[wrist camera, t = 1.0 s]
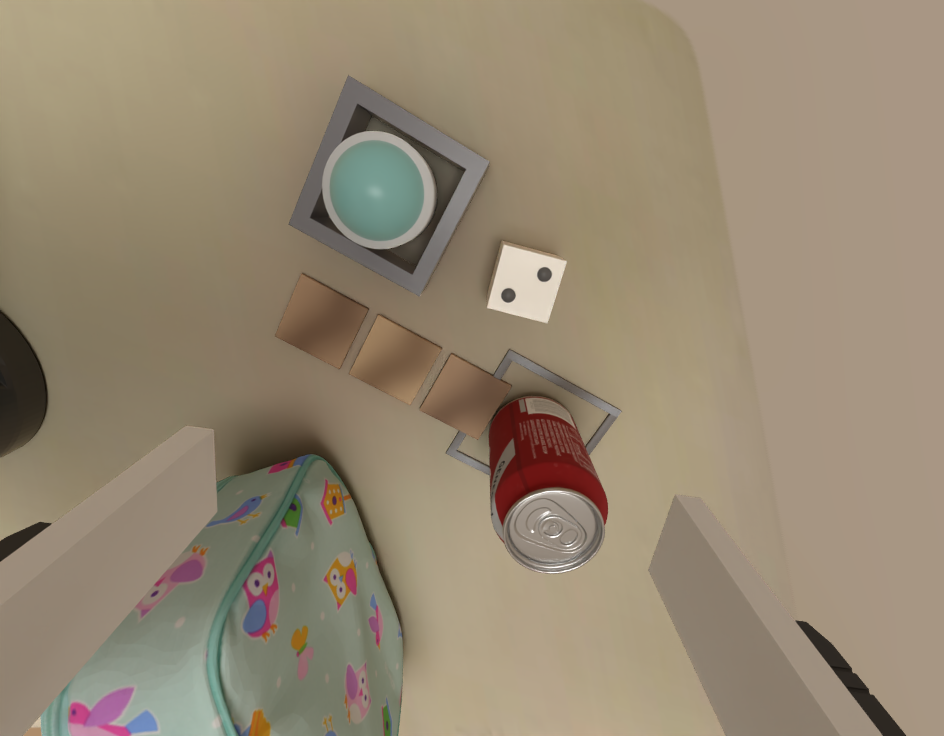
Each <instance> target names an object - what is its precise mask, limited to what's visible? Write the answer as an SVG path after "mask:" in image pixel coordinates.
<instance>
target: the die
mask: <svg viewBox="0 0 944 736" xmlns="http://www.w3.org/2000/svg"><path fill="white" fill-rule="evenodd" d="M566 263H567V261H566V260H564V259H562V258H561V257H559V256H558V255H554V254H550V253H547V252H543V251H539V250H535V249H532V248H528V247H524V246H520V245H516V244H513V243H509V242H505V241H501V244H500V248H499V252H498V255H497V259H496V263H495V267H494V271H493V274H492V278H491V282H490V286H489V289H488V293H487V308H490V309H493V310H497V311H501V312H505V313H509V314H513V315H517V316H521V317H525V318H529V319H533V320H536V321H540V322H544V323H548V320H549V317H550V314H551V310H552V307H553V304H554V301H555V298H556V295H557V292H558V288H559V285H560V282H561V279H562V276H563V273H564V269H565V266H566Z"/></svg>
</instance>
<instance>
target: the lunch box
mask: <svg viewBox="0 0 944 736" xmlns="http://www.w3.org/2000/svg"><path fill="white" fill-rule="evenodd" d="M216 489H217V513H216V514H215V515H214V516H213V517H212V519H211V520H210V521H209V522H208V523H207V524H206V525H205V527H204V528H203V529H202V530H201V531H200V532H199V534H198V535H197V536H196V537H195V538H194V539H193V540H192V542H191V543H190V544H189V545H188V546H187V547H186V548H185V550H184V551H183V552H182V553H181V554H180V555H179V557H178V558H177V559H176V560H175V561H174V562H173V563H172V565H171V566H170V567H169V568H168V569H167V570H166V572H165V573H164V574H163V575H162V576H161V577H160V578H159V580H158V581H157V582H156V583H155V584H154V585H153V587H152V588H151V589H150V590H149V591H148V592H147V593H146V595H145V596H144V597H143V598H142V599H141V600H140V602H139V603H138V604H137V605H136V606H135V607H134V608H133V610H132V611H131V612H130V613H129V614H128V615H127V617H126V618H125V619H124V620H123V621H122V622H121V623H120V625H119V626H118V627H117V628H116V629H115V630H114V631H113V633H112V634H111V635H110V636H109V637H108V638H107V640H106V641H105V642H104V643H103V644H102V645H101V646H100V648H99V649H98V650H97V651H96V652H95V653H94V655H93V656H92V657H91V658H90V659H89V660H88V661H87V663H86V664H85V665H84V666H83V667H82V668H81V670H80V671H79V672H78V673H77V674H76V675H75V676H74V678H73V679H72V680H71V681H70V682H69V683H68V685H67V686H66V687H65V688H64V689H63V690H62V691H61V693H60V694H59V695H58V696H57V697H56V698H55V699H54V701H53V702H52V703H51V704H50V705H49V706H48V708H47V709H46V710H45V711H44V712H43V713H42V714H41V732H42V736H398V732H399V723H400V713H401V703H402V684H403V679H402V677H403V640H402V632H401V627H400V623H399V620H398V617H397V614H396V611H395V608H394V606H393V603H392V601H391V599H390V596H389V594H388V591H387V589H386V587H385V584H384V582H383V579H382V577H381V575H380V572H379V569H378V565H377V561H376V560H377V559H376V555H375V553H374V550H373V548H372V546H371V544H370V543H369V541H368V539H367V536H366V533H365V530H364V528H363V525H362V522H361V519H360V517H359V514H358V511H357V509H356V506H355V504H354V502H353V499H352V498H351V496H350V494H349V492H348V490H347V488H346V487H345V485H344V483H343V482H342V480H341V479H340V477H339V476H338V474H337V473H336V471H335V470H334V469H333V467H332V466H331V465H330V464H329V463H328V462H327V461H326V460H325V459H323V458H322V457H320V456H317V455H315V454H309V455H305V456H301V457H298V458H295V459H293V460H290V461H286V462H282V463H279V464H276V465H273V466H270V467H267V468H264V469H260V470H257V471H254V472H252V473H249V474H244V475H240V476H231V477H228V478H226V479H223V480H221V481H219V482H217V483H216Z"/></svg>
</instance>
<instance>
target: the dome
mask: <svg viewBox="0 0 944 736" xmlns="http://www.w3.org/2000/svg"><path fill="white" fill-rule="evenodd" d="M322 193H323V199H324V203H325V206H326V209H327V212H328V214H329V216H330V218H331V220H332V221H333V223H334V224H335V225H336V227H337V228H338V229H339V230H340V231H341V232H342V233H343V234H344V235H345V236H346V237H347V238H349V239H350V240H352V241H353V242H355V243H357V244H359V245H361V246H364V247H368V248H373V249H389V248H394V247H397V246H400V245H402V244H405V243H407V242H409V241H411V240H413V239H415V238H416V237H418V236H419V235H420V234H421V233H422V232H423V231H424V230H425V229H426V228H427V227H428V225H429V224H430V222H431V220H432V218H433V216H434V214H435V210H436V206H437V185H436V181H435V177H434V175H433V172H432V170H431V168H430V166H429V165H428V163H427V162H426V160H425V159H424V158H423V157H422V155H421V154H419V153H418V152H417V151H416V150H415V149H414V148H413V147H412V146H410V145H409V144H408V143H407V142H405V141H404V140H403V139H401V138H399V137H397V136H395V135H392V134H390V133H386V132H381V131H365V132H361V133H357V134H355V135H353V136H350V137H349V138H347V139H345V140H344V141H343V142H342V143H340V144H339V145H338V146H337V147H336V149H335V150H334V151H333V152H332V154H331V155H330V157H329V159H328V161H327V163H326V166H325V169H324V173H323V180H322Z"/></svg>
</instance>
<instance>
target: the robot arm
mask: <svg viewBox="0 0 944 736" xmlns="http://www.w3.org/2000/svg"><path fill="white" fill-rule="evenodd" d="M45 406H46V392H45V385H44V380H43V376H42V373H41V370H40V367H39V365H38V363H37V360H36V358H35V356H34V354H33V352H32V351H31V349H30V347H29V346H28V344H27V343H26V341H25V340H24V338H23V337H22V336H21V334H20V333H19V332H18V331H17V329H16V328H15V327H14V326H13V325H12V324H11V323H10V322H9V321H8V320H7V319H6V318H5V317H4V316H3V315H2V314H1V313H0V458H1V457H3V456H5V455H7V454H9V453H11V452H13V451H14V450H16V449H18V448H20V447H22V446H23V445H24V444H26V443H27V442H28V441H29V440H30V439H31V438H32V437H33V436H34V435H35V433H36V432H37V430H38V429H39V427H40V425H41V423H42V420H43V417H44V413H45ZM216 513H217V489H216V465H215V442H214V429H208V428H201V427H194V426H187V425H186V426H184V427H183V428H182V429H180V430H179V431H178V432H176V433H175V434H174V435H172V436H171V437H170V438H168V439H167V440H165V441H164V442H163V443H161V444H160V445H159V446H157V447H156V448H155V449H153V450H152V451H150V452H149V453H148V454H146V455H145V456H144V457H142V458H141V459H140V460H138V461H137V462H136V463H134V464H133V465H131V466H130V467H129V468H127V469H126V470H125V471H123V472H122V473H121V474H119V475H118V476H117V477H115V478H114V479H112V480H111V481H110V482H108V483H107V484H106V485H104V486H103V487H102V488H100V489H99V490H97V491H96V492H95V493H93V494H92V495H91V496H89V497H88V498H87V499H85V500H84V501H83V502H81V503H80V504H78V505H77V506H76V507H74V508H73V509H72V510H70V511H69V512H68V513H66V514H65V515H63V516H62V517H61V518H59V519H58V520H57V521H55V522H54V523H53V524H51V523H44V522H39V523H37V524H34V525H32V526H30V527H28V528H25V529H23V530H21V531H19V532H17V533H14V534H12V535H10V536H8V537H6V538H4V539H3V540H1V541H0V736H23V735H24V734H25V733H26V732H27V731H28V729H29V728H30V727H31V726H32V725H33V724H34V723H35V721H36V720H37V719H38V718H39V717H40V716H41V714H42V713H43V712H44V711H45V710H46V709H47V708H48V706H49V705H50V704H51V703H52V702H53V701H54V699H55V698H56V697H57V696H58V695H59V694H60V693H61V691H62V690H63V689H64V688H65V687H66V686H67V685H68V683H69V682H70V681H71V680H72V679H73V678H74V676H75V675H76V674H77V673H78V672H79V671H80V670H81V668H82V667H83V666H84V665H85V664H86V663H87V661H88V660H89V659H90V658H91V657H92V656H93V655H94V653H95V652H96V651H97V650H98V649H99V648H100V646H101V645H102V644H103V643H104V642H105V641H106V640H107V638H108V637H109V636H110V635H111V634H112V633H113V631H114V630H115V629H116V628H117V627H118V626H119V625H120V623H121V622H122V621H123V620H124V619H125V618H126V617H127V615H128V614H129V613H130V612H131V611H132V610H133V608H134V607H135V606H136V605H137V604H138V603H139V602H140V600H141V599H142V598H143V597H144V596H145V595H146V593H147V592H148V591H149V590H150V589H151V588H152V587H153V585H154V584H155V583H156V582H157V581H158V580H159V578H160V577H161V576H162V575H163V574H164V573H165V572H166V570H167V569H168V568H169V567H170V566H171V565H172V563H173V562H174V561H175V560H176V559H177V558H178V557H179V555H180V554H181V553H182V552H183V551H184V550H185V548H186V547H187V546H188V545H189V544H190V543H191V542H192V540H193V539H194V538H195V537H196V536H197V535H198V534H199V532H200V531H201V530H202V529H203V528H204V527H205V525H206V524H207V523H208V522H209V521H210V520H211V519H212V517H213V516H214V515H215V514H216ZM648 570H649V572H650V574H651V577H652V579H653V581H654V583H655V585H656V587H657V589H658V592H659V594H660V596H661V598H662V600H663V602H664V604H665V607H666V609H667V611H668V613H669V615H670V617H671V619H672V622H673V624H674V626H675V628H676V630H677V632H678V634H679V637H680V639H681V641H682V643H683V645H684V647H685V649H686V652H687V654H688V656H689V658H690V660H691V662H692V664H693V667H694V669H695V671H696V673H697V675H698V677H699V679H700V682H701V684H702V686H703V688H704V690H705V692H706V694H707V697H708V699H709V701H710V703H711V705H712V707H713V709H714V712H715V714H716V716H717V718H718V720H719V722H720V724H721V727H722V729H723V731H724V733H725V735H726V736H906V735H905V734H904V732H903V731H902V730H901V729H900V727H899V726H898V725H897V724H896V722H895V721H894V720H893V719H892V717H891V716H890V715H889V714H888V712H887V711H886V710H885V709H884V708H883V706H882V705H881V704H880V703H879V702H878V700H877V699H876V698H875V696H874V695H870V693H869V689H868V688H867V687H866V685H865V684H864V683H863V682H862V681H861V679H860V678H859V677H858V675H857V674H855V673H853V672H852V668H851V667H850V666H849V664H848V663H847V662H846V661H845V659H844V658H843V657H842V656H841V654H840V653H839V652H838V651H837V649H836V648H835V647H834V646H833V645H832V644H831V643H830V642H829V641H828V640H827V639H825V638H824V637H823V636H822V635H821V634H820V633H818V632H817V631H816V630H815V629H814V628H813V627H812V626H810V625H809V624H808V623H807V622H803V621H795V620H794V619H793V618H792V616H791V615H790V614H789V612H788V611H787V610H786V608H785V607H784V606H783V605H782V603H781V602H780V601H779V599H778V598H777V597H776V595H775V594H774V593H773V591H772V590H771V589H770V588H769V586H768V585H767V584H766V582H765V581H764V580H763V578H762V577H761V576H760V574H759V573H758V572H757V571H756V569H755V568H754V567H753V565H752V564H751V563H750V561H749V560H748V559H747V557H746V556H745V555H744V554H743V552H742V551H741V550H740V548H739V547H738V546H737V544H736V543H735V542H734V540H733V539H732V538H731V537H730V535H729V534H728V533H727V531H726V530H725V529H724V527H723V526H722V525H721V524H720V522H719V521H718V520H717V518H716V517H715V516H714V514H713V513H712V512H711V510H710V509H709V508H708V507H707V505H706V504H705V503H704V501H703V500H702V499H701V498H698V497H691V496H683V495H676V494H675V496H674V499H673V501H672V504H671V507H670V510H669V513H668V516H667V518H666V521H665V524H664V527H663V530H662V533H661V535H660V538H659V541H658V544H657V547H656V550H655V552H654V555H653V558H652V561H651V564H650V567H649V569H648Z"/></svg>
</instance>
